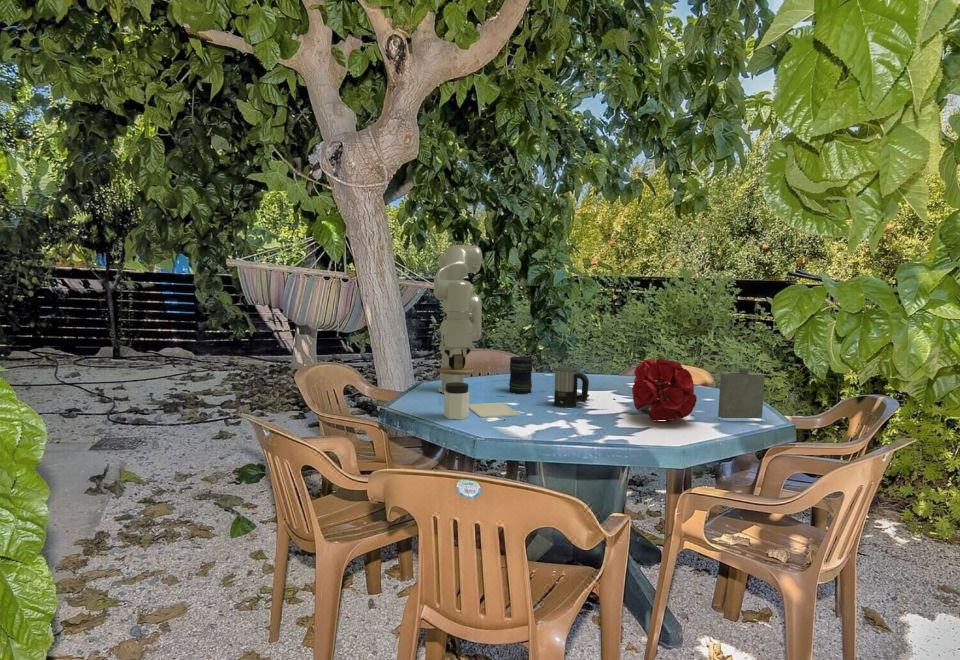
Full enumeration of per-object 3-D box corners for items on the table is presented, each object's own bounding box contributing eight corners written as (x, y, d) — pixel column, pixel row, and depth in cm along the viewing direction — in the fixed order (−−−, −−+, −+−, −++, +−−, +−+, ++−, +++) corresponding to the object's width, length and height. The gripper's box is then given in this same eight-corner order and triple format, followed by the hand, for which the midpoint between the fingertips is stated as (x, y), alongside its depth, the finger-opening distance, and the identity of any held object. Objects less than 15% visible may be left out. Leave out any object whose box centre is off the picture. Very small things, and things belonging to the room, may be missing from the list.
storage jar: (509, 389, 274) (510, 356, 272) (531, 390, 273) (532, 357, 271) (508, 393, 264) (509, 359, 262) (531, 394, 263) (532, 360, 261)
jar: (441, 415, 224) (441, 382, 222) (461, 413, 227) (462, 381, 226) (450, 421, 215) (451, 387, 214) (471, 419, 219) (472, 385, 218)
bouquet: (617, 430, 234) (647, 407, 207) (614, 372, 244) (642, 343, 216) (672, 434, 236) (708, 412, 209) (666, 376, 246) (700, 347, 219)
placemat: (465, 405, 240) (465, 404, 239) (502, 404, 244) (502, 402, 244) (480, 418, 221) (480, 416, 220) (520, 416, 225) (520, 414, 225)
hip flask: (759, 419, 228) (763, 366, 226) (764, 422, 224) (768, 368, 222) (716, 419, 228) (719, 365, 225) (720, 421, 223) (724, 367, 221)
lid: (434, 369, 223) (435, 352, 223) (469, 368, 227) (469, 352, 226) (443, 375, 211) (443, 357, 210) (479, 374, 215) (479, 357, 214)
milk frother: (552, 407, 241) (553, 369, 239) (554, 398, 256) (555, 363, 255) (589, 409, 239) (590, 371, 237) (588, 400, 254) (590, 365, 253)
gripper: (476, 315, 223) (475, 365, 225) (432, 315, 218) (432, 366, 220) (483, 317, 216) (481, 368, 218) (437, 317, 211) (436, 370, 213)
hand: (456, 367), depth 219 cm, fingers closed on lid, 3 cm apart
